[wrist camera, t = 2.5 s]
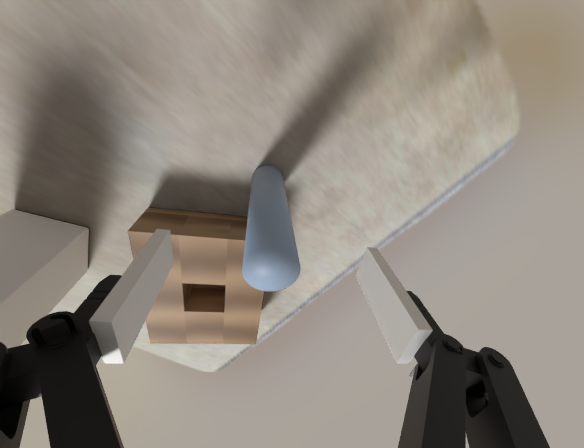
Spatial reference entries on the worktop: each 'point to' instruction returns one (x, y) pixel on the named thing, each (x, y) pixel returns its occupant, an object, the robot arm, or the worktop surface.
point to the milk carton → (36, 269)
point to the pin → (269, 234)
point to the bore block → (201, 279)
